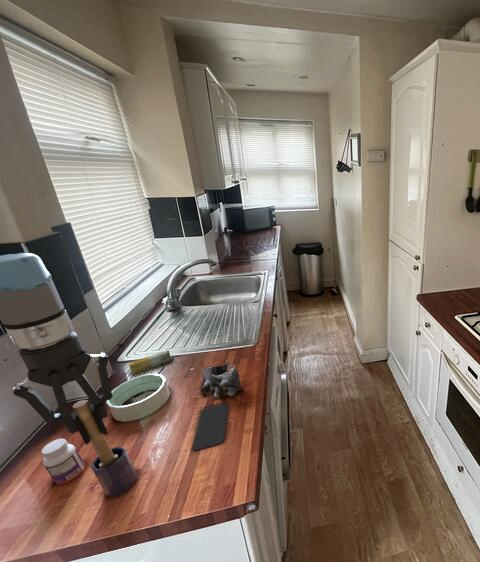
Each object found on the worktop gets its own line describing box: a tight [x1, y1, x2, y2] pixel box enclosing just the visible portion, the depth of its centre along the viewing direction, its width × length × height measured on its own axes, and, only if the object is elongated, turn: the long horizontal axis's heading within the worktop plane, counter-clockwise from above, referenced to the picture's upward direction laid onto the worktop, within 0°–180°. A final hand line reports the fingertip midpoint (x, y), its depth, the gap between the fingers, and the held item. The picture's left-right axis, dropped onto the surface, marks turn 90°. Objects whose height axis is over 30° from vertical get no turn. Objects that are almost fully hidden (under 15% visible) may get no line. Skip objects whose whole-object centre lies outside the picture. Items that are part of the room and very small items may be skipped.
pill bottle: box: [41, 438, 86, 485], centre depth 71 cm, size 5×5×10 cm
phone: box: [192, 403, 229, 451], centre depth 84 cm, size 7×1×15 cm
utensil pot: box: [90, 446, 138, 498], centre depth 68 cm, size 6×6×9 cm
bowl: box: [106, 373, 171, 423], centre depth 92 cm, size 14×14×6 cm
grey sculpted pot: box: [199, 361, 242, 399], centre depth 98 cm, size 12×11×15 cm
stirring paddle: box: [72, 399, 119, 469], centre depth 65 cm, size 3×2×22 cm
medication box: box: [128, 350, 173, 375], centre depth 110 cm, size 12×3×4 cm, turn 129°
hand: (95, 435), depth 64 cm, fingers closed on stirring paddle, 2 cm apart
